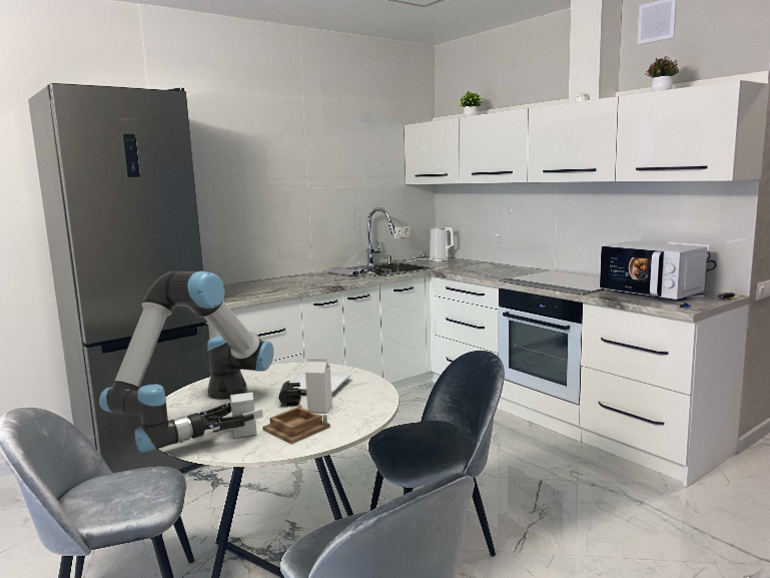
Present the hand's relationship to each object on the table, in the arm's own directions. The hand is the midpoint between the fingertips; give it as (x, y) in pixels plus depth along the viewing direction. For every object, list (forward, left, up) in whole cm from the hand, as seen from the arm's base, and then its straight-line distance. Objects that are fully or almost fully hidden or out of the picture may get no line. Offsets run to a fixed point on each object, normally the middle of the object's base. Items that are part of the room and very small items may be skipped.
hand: (256, 408), depth 195 cm
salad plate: (-15, +39, -8) cm, 42 cm away
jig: (+10, +9, -7) cm, 15 cm away
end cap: (-11, +22, -8) cm, 25 cm away
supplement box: (-1, -4, -7) cm, 9 cm away
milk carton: (+3, +25, -8) cm, 26 cm away
